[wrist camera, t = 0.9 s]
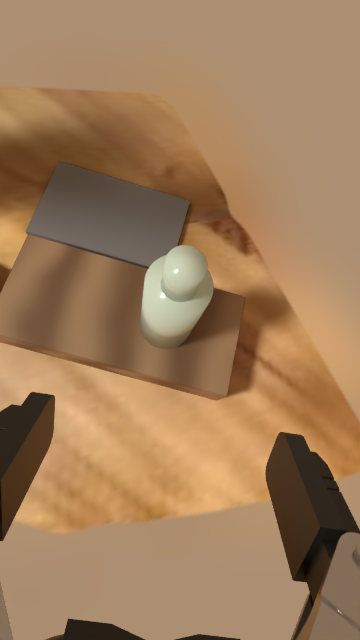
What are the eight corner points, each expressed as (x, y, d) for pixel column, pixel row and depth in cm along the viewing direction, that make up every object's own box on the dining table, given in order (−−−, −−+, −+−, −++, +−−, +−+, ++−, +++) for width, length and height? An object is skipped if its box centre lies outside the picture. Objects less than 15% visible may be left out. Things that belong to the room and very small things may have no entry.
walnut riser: (-1, 341, 33) (-18, 330, 29) (38, 254, 36) (28, 234, 33) (215, 400, 34) (226, 396, 30) (233, 310, 38) (245, 297, 34)
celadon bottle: (133, 341, 31) (137, 288, 20) (147, 294, 32) (158, 220, 21) (184, 355, 31) (216, 310, 20) (195, 308, 33) (231, 242, 21)
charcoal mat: (27, 234, 37) (25, 230, 36) (60, 164, 40) (59, 160, 40) (168, 275, 38) (169, 272, 37) (189, 203, 41) (190, 200, 41)
